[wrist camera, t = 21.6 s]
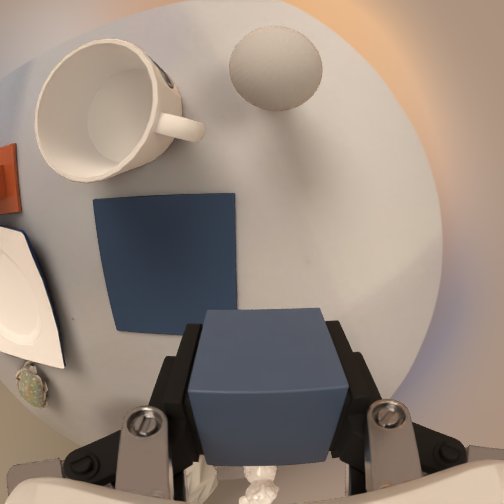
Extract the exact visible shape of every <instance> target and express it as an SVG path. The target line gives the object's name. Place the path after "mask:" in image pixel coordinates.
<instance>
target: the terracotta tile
mask: <svg viewBox="0 0 504 504" xmlns="http://www.w3.org/2000/svg"><path fill="white" fill-rule="evenodd" d="M0 165H3V169H4V181H5V191H6V198H5V199H2V200H0V214H7V213H16V212H20V211H22V209H21V202H20V194H19V184H18V173H17V158H16V143H14V144H10V145H7V146H4V147H1V148H0Z"/></svg>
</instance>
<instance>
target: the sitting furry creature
mask: <svg viewBox="0 0 504 504" xmlns="http://www.w3.org/2000/svg"><path fill="white" fill-rule="evenodd" d="M243 468H244V474H245V478H247V480H248V481H249V482H250V483H251V485H249V487H248V488H247V490H246V493H245V494H246V495H245V496H242V497H240V499H239V504H272V501H273V500H274V499H275V498H276V497H277V493H278V490H279V487H278V486H276V485H275V484H274V482H273V480H274V479H275V476H276V470H277V467H276V466H243Z"/></svg>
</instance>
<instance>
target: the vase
mask: <svg viewBox="0 0 504 504" xmlns="http://www.w3.org/2000/svg"><path fill="white" fill-rule="evenodd" d="M216 474H217V471H216V470H215V468H214V466H213V465H207V464H206V461H205V457H204V455H200V456H199V462H193V465H191V466H190V467H188V468H187V469H186V475H187V486H188V496H189V502H191V503H202V502H204V501H205V500H206V498H208V496H209V495H210V494H211V493H212V492H213V490H214V489H215V488H216V487H217V486H218V480H217V477H216Z"/></svg>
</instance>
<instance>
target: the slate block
mask: <svg viewBox="0 0 504 504" xmlns="http://www.w3.org/2000/svg"><path fill="white" fill-rule="evenodd" d="M348 388H349V385H348V382H347V379H346V376H345V373H344V371H343V368H342V365H341V363H340V360H339V357H338V354H337V352H336V349H335V346H334V344H333V341H332V338H331V336H330V333H329V331H328V328H327V325H326V323H325V320H324V318H323V315H322V313H321V310H320V308H299V309H262V310H207V312H206V316H205V320H204V324H203V328H202V332H201V336H200V341H199V345H198V349H197V353H196V357H195V361H194V366H193V370H192V374H191V379H190V383H189V387H188V394H189V399H190V403H191V407H192V411H193V415H194V419H195V423H196V427H197V431H198V435H199V439H200V442H201V446H202V450H203V453H204V457H205V461H206V464H207V465H215V466H279V465H294V464H305V463H316V462H324V461H325V460H326V457H327V455H328V452H329V448H330V446H331V443H332V440H333V437H334V434H335V431H336V428H337V424H338V421H339V418H340V415H341V411H342V408H343V405H344V402H345V399H346V395H347V392H348Z"/></svg>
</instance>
